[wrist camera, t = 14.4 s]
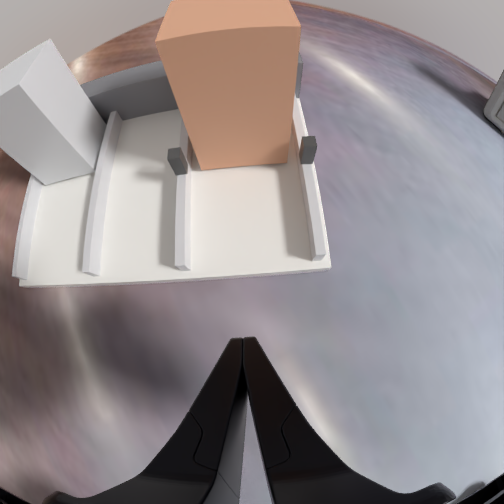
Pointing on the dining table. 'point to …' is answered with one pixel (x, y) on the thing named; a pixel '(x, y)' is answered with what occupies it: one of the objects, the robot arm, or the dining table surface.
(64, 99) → the tall white block
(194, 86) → the tall tan brick
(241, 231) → the base
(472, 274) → the dining table surface
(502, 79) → the digital clock
